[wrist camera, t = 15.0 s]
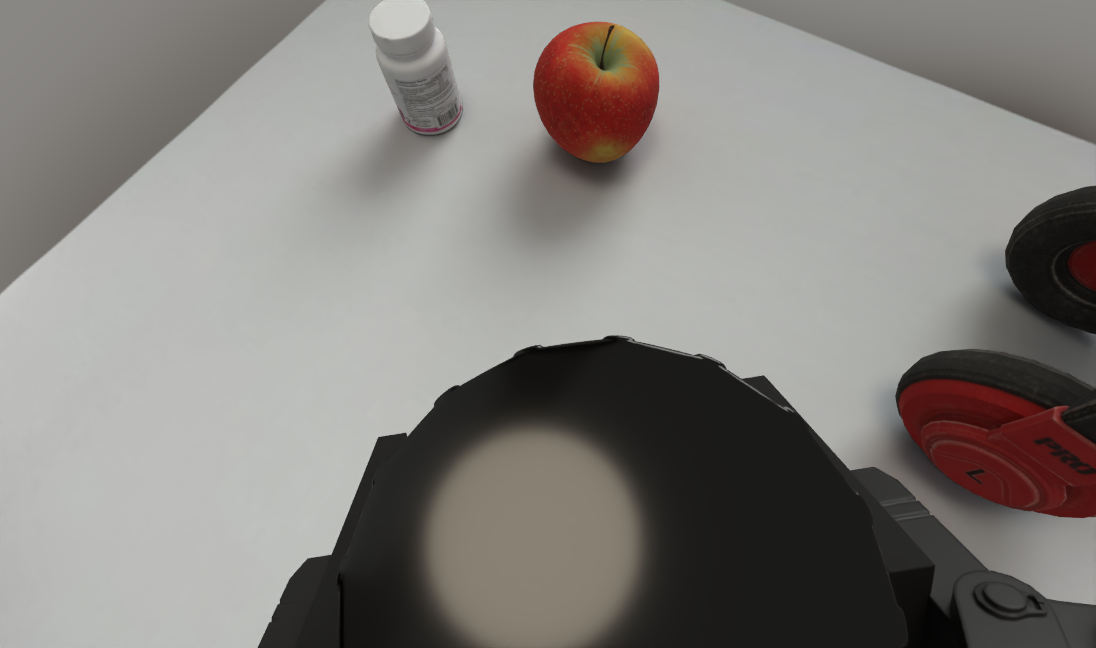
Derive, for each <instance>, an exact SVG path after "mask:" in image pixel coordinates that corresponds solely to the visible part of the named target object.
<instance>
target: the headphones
mask: <svg viewBox="0 0 1096 648" xmlns="http://www.w3.org/2000/svg"><path fill="white" fill-rule="evenodd" d="M1005 257H1006V268H1007V270H1008V272H1009V274H1010V277H1011V279H1012V281H1013V283H1014V284H1015V286H1016V287H1017V288H1018V289H1019V291H1020V292H1021V293H1022V294H1023V295H1024V296H1025V297H1026V299H1027V300H1028V301H1029V302H1031V303H1032V304H1033V305H1035V306H1036V307H1037V308H1039V309H1040V310H1041V311H1043V312H1044V313H1045V314H1047V315H1049V316H1051V317H1053V318H1055V319H1057V320H1059V321H1061V322H1063V323H1065V324H1067V325H1069V326H1072V327H1075V328H1078V329H1081V330H1084V331H1086V332H1089V333H1092V334H1096V186H1089V187H1084V188H1080V189H1077V190H1074V191H1070V192H1067V193H1064V194H1060V195H1057V196H1055V197H1053V198H1051V199H1049V200H1047V201H1046V202H1044V203H1042V204H1040V205H1039V206H1037V207H1035V208H1034V209H1033V210H1032V211H1031V212H1029V213H1028V214H1027V215H1026V216H1025V218H1024V219H1023V220H1022V221H1021V222H1020V223H1019V224H1018V225H1017V226H1016V227H1015V228H1014V230H1013V233H1012V235H1011V238H1010V240H1009V243H1008V245H1007V248H1006V250H1005ZM896 403H897V408H898V412H899V415H900V416H901V418H902V420H903V423H904V426H905V427H906V429H907V431H908V432H909V434H910V436H911V437H912V439H913V440H914V441H915V442H916V443H917V444H918V445H919V446H920V448H921V449H922V450H923V451H924V452H925V453H926V454H927V456H928V458H929V459H930V460H931V461H932V462H933V464H934V465H935V466H936V467H937V468H938V469H939V470H940V471H942V472H943V473H944V474H945V475H946V476H948V477H949V478H950V479H951V480H952V481H954V482H956V483H957V484H959V485H961V486H962V487H964V488H966V489H967V490H969V491H971V492H972V493H974V494H976V495H978V496H981V497H983V498H985V499H987V500H990V501H992V502H994V503H997V504H1000V505H1003V506H1007V507H1010V508H1013V509H1019V510H1024V511H1034V512H1038V513H1043V514H1048V515H1053V516H1058V517H1072V518H1086V517H1096V389H1095V388H1094V387H1092V386H1090V385H1088V384H1086V383H1085V382H1083V381H1081V380H1079V379H1077V378H1075V377H1074V376H1072V375H1070V374H1068V373H1066V372H1063V371H1060V370H1058V369H1055V368H1053V367H1050V366H1048V365H1045V364H1043V363H1040V362H1038V361H1035V360H1031V359H1027V358H1024V357H1020V356H1016V355H1012V354H1008V353H1004V352H997V351H988V350H979V349H965V350H951V351H941V352H937V353H935V354H932V355H929V356H926V357H923V358H921V359H920V360H919V361H918V362H917V363H915V364H914V365H913V366H912V367H911V368H910V369H909V370H908V371H907V372H906V373H904V374H903V376H902V378H901V380H900V382H899V384H898V388H897V392H896Z"/></svg>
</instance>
